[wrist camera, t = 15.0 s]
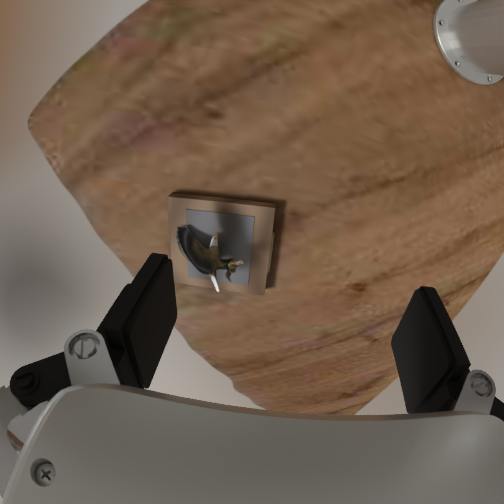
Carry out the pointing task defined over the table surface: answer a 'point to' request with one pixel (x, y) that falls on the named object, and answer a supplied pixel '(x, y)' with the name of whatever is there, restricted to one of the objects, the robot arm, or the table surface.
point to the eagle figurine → (205, 255)
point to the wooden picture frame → (224, 239)
